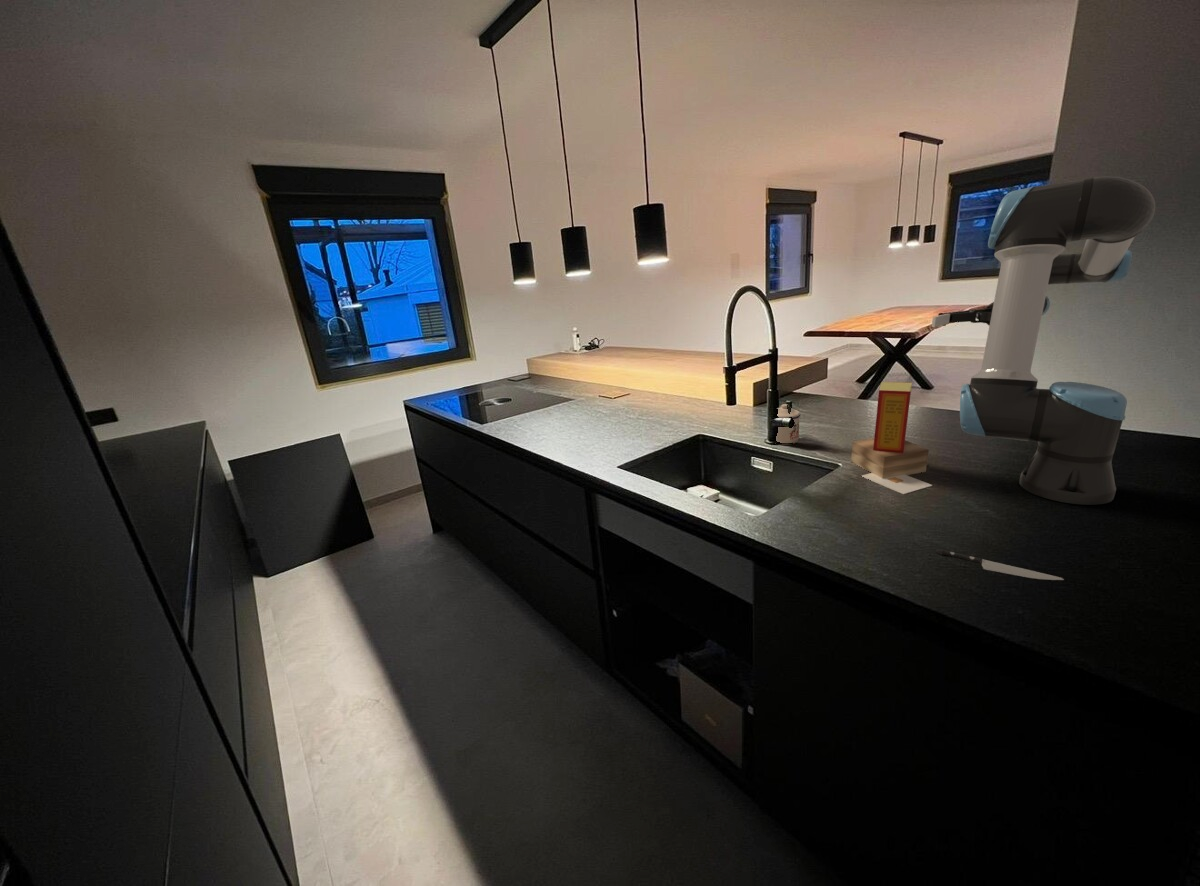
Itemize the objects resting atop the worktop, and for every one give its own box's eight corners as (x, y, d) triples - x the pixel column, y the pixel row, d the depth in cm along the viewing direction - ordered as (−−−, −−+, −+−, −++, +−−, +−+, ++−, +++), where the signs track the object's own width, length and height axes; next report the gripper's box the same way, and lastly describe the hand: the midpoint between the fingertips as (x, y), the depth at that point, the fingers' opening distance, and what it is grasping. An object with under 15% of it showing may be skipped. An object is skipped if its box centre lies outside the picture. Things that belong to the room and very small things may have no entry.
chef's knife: (1078, 594, 75) (1076, 583, 78) (1080, 588, 75) (1078, 577, 77) (933, 560, 87) (935, 551, 89) (934, 555, 86) (936, 546, 88)
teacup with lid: (796, 446, 144) (797, 409, 140) (765, 443, 149) (766, 407, 145) (803, 433, 153) (805, 399, 150) (774, 431, 158) (775, 397, 154)
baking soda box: (876, 438, 128) (882, 380, 123) (904, 440, 124) (912, 381, 119) (873, 450, 121) (879, 389, 115) (903, 453, 117) (910, 390, 112)
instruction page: (932, 485, 112) (932, 484, 112) (903, 494, 110) (903, 492, 110) (888, 469, 123) (888, 467, 123) (861, 476, 121) (861, 475, 121)
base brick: (925, 471, 119) (928, 449, 117) (882, 479, 118) (884, 456, 116) (890, 455, 131) (893, 435, 129) (850, 462, 129) (852, 441, 127)
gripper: (1061, 328, 121) (1016, 340, 113) (954, 324, 143) (910, 334, 134) (1067, 298, 119) (1022, 308, 110) (958, 298, 140) (914, 307, 132)
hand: (961, 322), depth 122 cm, fingers open, 13 cm apart
